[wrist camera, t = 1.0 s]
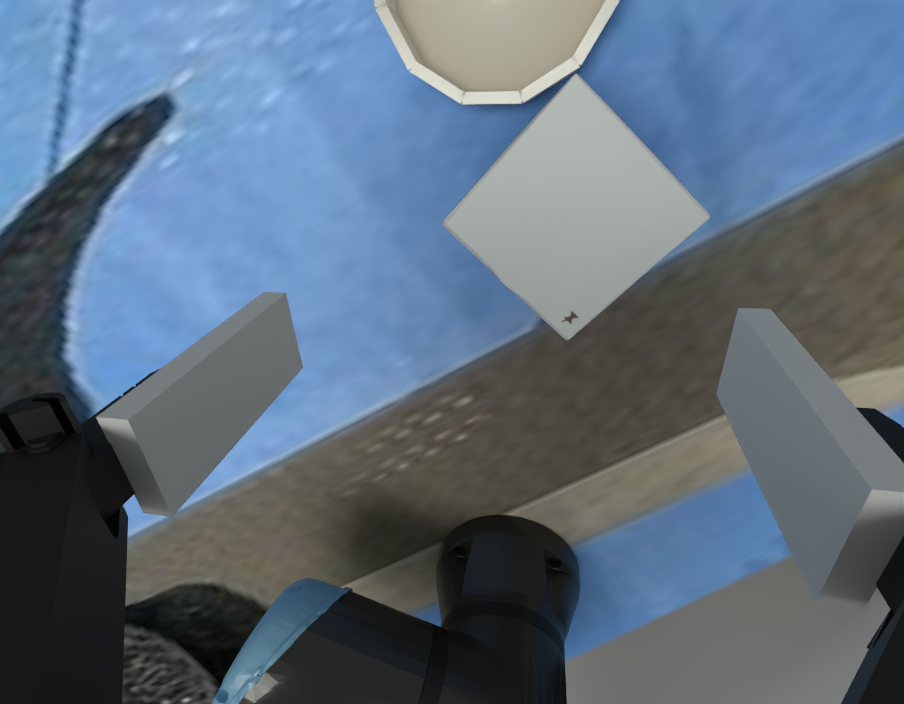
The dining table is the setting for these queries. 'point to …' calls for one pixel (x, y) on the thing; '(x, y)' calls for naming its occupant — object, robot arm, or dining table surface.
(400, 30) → the bowl
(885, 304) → the dining table surface
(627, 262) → the supplement box
